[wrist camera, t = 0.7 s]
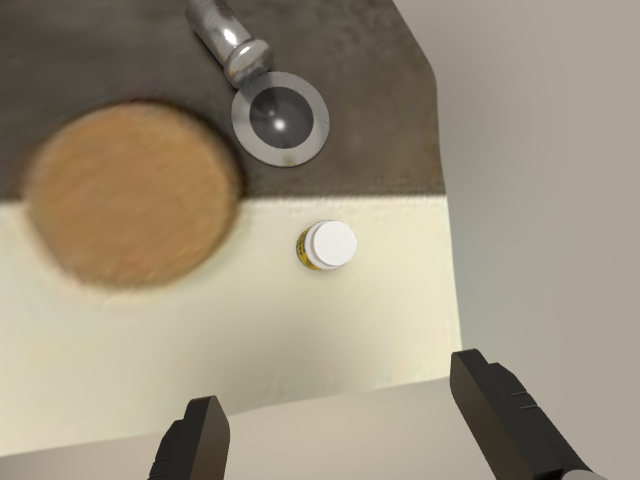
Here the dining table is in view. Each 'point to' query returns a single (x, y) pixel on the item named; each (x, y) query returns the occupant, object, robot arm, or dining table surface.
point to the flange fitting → (261, 91)
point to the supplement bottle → (326, 245)
